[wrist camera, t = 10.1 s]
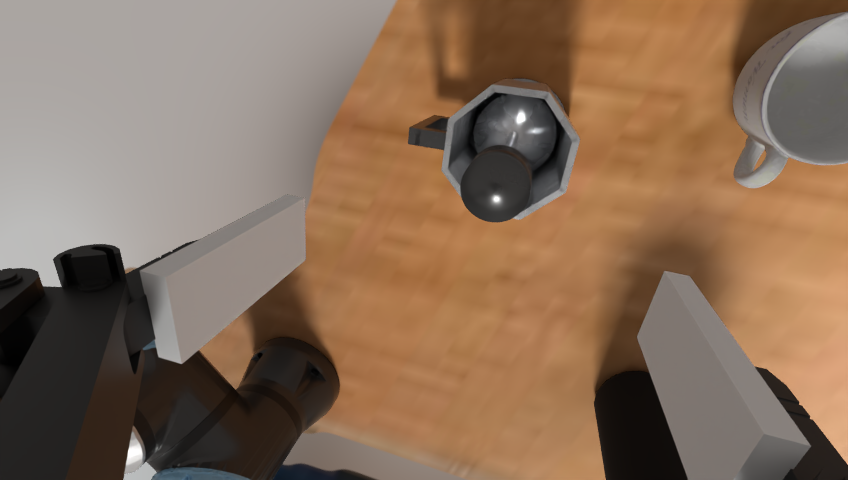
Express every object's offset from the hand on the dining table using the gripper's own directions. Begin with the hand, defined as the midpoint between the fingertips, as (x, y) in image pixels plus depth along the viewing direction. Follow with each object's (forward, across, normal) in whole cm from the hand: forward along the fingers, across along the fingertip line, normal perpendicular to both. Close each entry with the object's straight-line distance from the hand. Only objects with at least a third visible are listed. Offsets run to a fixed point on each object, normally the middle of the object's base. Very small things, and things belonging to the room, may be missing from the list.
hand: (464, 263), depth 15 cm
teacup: (+32, +22, +6) cm, 40 cm away
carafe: (+32, -1, 0) cm, 32 cm away
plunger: (+29, 0, 0) cm, 29 cm away
